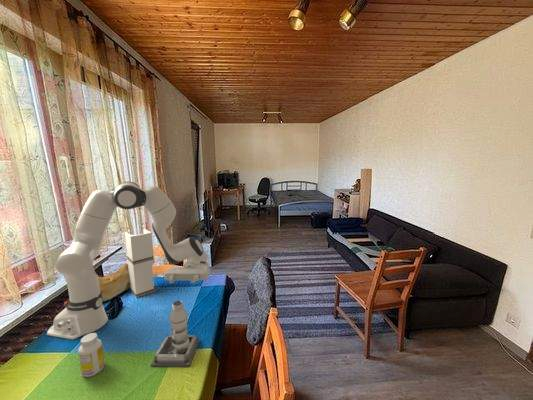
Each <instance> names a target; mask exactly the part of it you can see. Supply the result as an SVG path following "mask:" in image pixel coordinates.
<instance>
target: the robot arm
mask: <svg viewBox="0 0 533 400" xmlns="http://www.w3.org/2000/svg"><path fill="white" fill-rule="evenodd" d="M140 207H144V208H145V209H146V210H147V211H148V213H149V214H150V215H151V217H152V224H151V228H152V231H153V233H154V235H155V237H156V239H157V241H158V243H159V244H160V247H161V249H162V251H163V253H164V254H163V255H164V256H165V258H166V260H167V262H168V263H169V264H173V265H178V264H180V263H181V262H183V261H185V260H186V261H185V262H184V263H183V265H182V266H173V267H170V268H169V269H167V270H166V271H165V272H164V280H165V281H169V284H174V283H175V281H190V284H195V283H196V282H198V281H206V280H208V279H209V278H210V264H209V262H208V255H207V253H206V251H205V250H204V247H203V244H202V242H201V241H200V240H199V239H198V238H196V237H193V236H190V237H188V238H186V239H182V240H181V241H179V242H177V243H172V241H171V239H170V237H169V235H168V233H167V228H168V227H169V226H170V224H171V223H172V222H173V221H174V220H175V218H176V215H177V209H176V207H175V205H174V203H173V202H172V200H171V199H170V198H169V197H168V196H167V194H166V193H165V192H164V191H163V190H162V189H161V188H160V187H159V186H156V185H152V186H148V187H146V188H141V187H140V186H139V184H137V183H136V182H133V181H123V182H122V183H120V184H118V185H116V186H115V187H114V188H113V189H111V190H106V189H96V190H94V191H93V192H92V193H91V194H90V196H89V197H88V198H87V200H86V201H85V204H84V206H83V208H82V210H81V213H80V215H79V218H78V220H77V222H76V225H75V226H74V227H75V228H74V229H75V231H74V237H73V240H72V242H71V244H70V245H69V246H68V247H67V248H66V249H64V250H63V251H62V252H61V253H60V254H59V256H58V258H57V260H56V263H55V268H56V270H57V271H58V273H60V274H61V275H62V276H63V278H64V280H65V282H66V285H67V291H68V297H69V298H68V299H67V300H66V301H64V302H63V303H64V304H63V305H64V306H65V305H66V307H65V308H64V309H62V310H61V311H60V312H59V313H58V314H57V315H56V316H55V317H54V319H53V325H51V326H50V327H49V329H48V330H47V332H46V336H51V337H56V338H61V339H62V338H63V339H67V340H76V339H78V338H79V337H82V336H85V335H87V334H90V333H94V332H95V331H97V330H99V329H100V328H103V326H105V325H106V323H107V322H108V320H109V317H108V315H107V314H106V311H105V308H104V304H103V302H102V292H101V291H100V285H99V277H100V276H99V275H98V274H97V273H96V271H95V268H94V261H95V259H96V258H97V257H98V255H99V253H100V250H101V247H102V245H103V241H104V238H105V234H106V232H107V230H108V227H109V225H110V222H111V219H112V217H113V215H114V212H115V210H116V209H117V208H120V209H122V210H132V209H133V210H134V209H135V208H140Z"/></svg>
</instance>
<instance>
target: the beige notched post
mask: <svg viewBox="0 0 533 400" xmlns="http://www.w3.org/2000/svg"><path fill="white" fill-rule="evenodd" d="M152 233H153V232H151V231H149V230H148V229H145V228H143V233H141V234H130V233H128V231H125V232H124V239H125V248H126V257H127V264H128V269H129V277H130V288H129V289H130V292H131V293H132V294H133V296H134V297H135V298H136V299H138V298H140V297H144V296H146V294H147V295H149V293H150V294H151V293H152V294H153V293H155V292H157V287H156V286H155V283H154V271H153V263H154V262H155V258H154V247H153V246H154V245H153V235H152Z"/></svg>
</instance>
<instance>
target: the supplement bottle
mask: <svg viewBox="0 0 533 400" xmlns="http://www.w3.org/2000/svg"><path fill="white" fill-rule="evenodd" d="M77 351H78V358H79V364H80V372H81V374H82V376H83V377H85V378H87V377H88V378H89V377H93V376H95V375H97V374H98V373H100V372H101V371H102V370H103V369H104V367H105V357H104V352H103V343H102V340H101V339H99V338H98V334H97V332H91V333H88V334H85V335H83V337H82V338H81V339H80V346H79V348H78V350H77Z"/></svg>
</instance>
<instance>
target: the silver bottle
mask: <svg viewBox="0 0 533 400" xmlns="http://www.w3.org/2000/svg"><path fill="white" fill-rule="evenodd" d="M171 308H172V311H171V312H170V314H169V323H170V327H171V333H172V334H171V335H172V351H173V352H174V353H175V354H184V353H186V351H187V349H188V347H189V345H190V342H189V338H188V335H189V334H188V312H187V310H186V309H185V308H184V302H183V301H182V300H176V301H173V303H172V307H171Z"/></svg>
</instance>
